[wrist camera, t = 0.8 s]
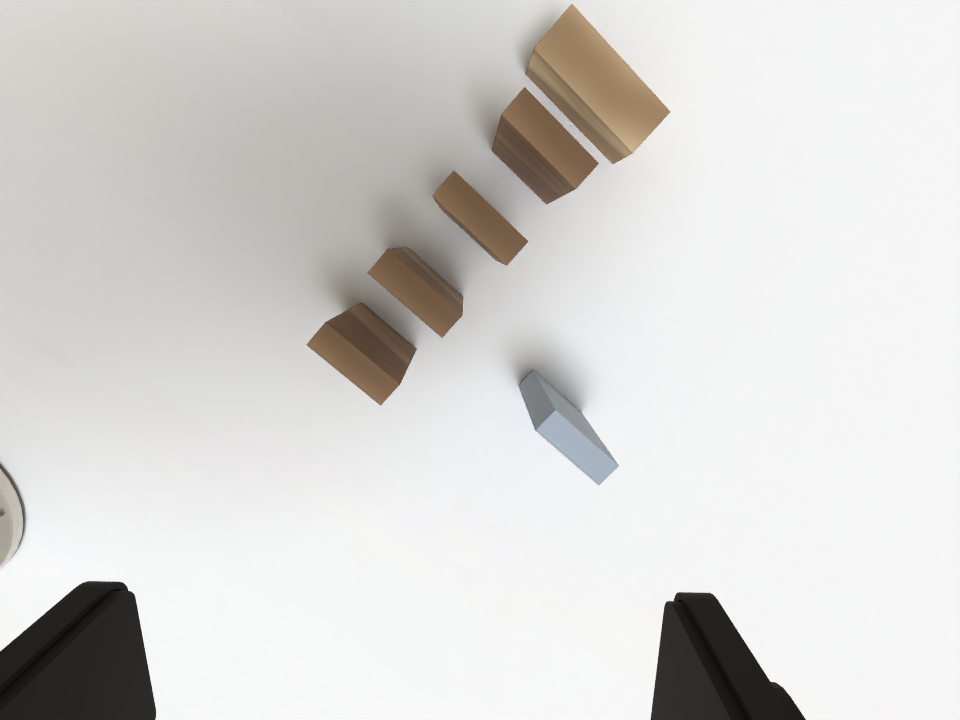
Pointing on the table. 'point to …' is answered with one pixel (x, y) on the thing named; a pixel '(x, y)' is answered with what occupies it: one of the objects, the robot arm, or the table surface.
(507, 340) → the table surface
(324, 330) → the walnut tile
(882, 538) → the table surface
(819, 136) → the table surface
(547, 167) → the walnut tile
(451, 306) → the walnut tile
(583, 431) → the blue grey rectangular block
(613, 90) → the oak end block
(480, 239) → the walnut tile
